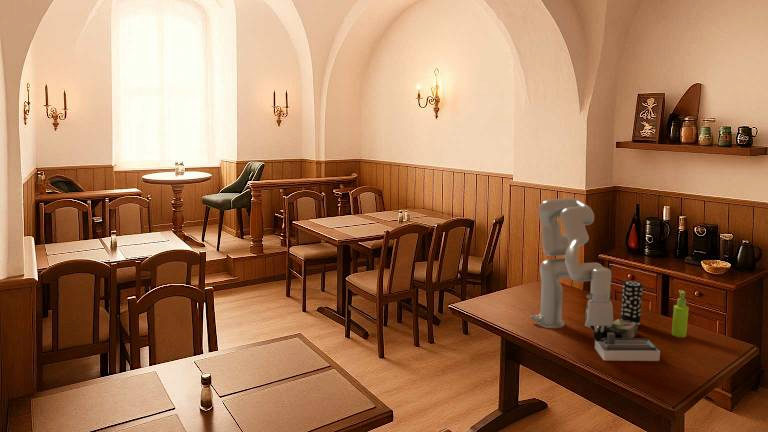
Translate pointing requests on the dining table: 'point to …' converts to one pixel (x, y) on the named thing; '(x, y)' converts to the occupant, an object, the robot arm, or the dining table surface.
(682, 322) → the soap dispenser
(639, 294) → the spotted tube
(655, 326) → the dining table surface
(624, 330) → the juice carton
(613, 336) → the handle
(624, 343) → the box
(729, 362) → the dining table surface
